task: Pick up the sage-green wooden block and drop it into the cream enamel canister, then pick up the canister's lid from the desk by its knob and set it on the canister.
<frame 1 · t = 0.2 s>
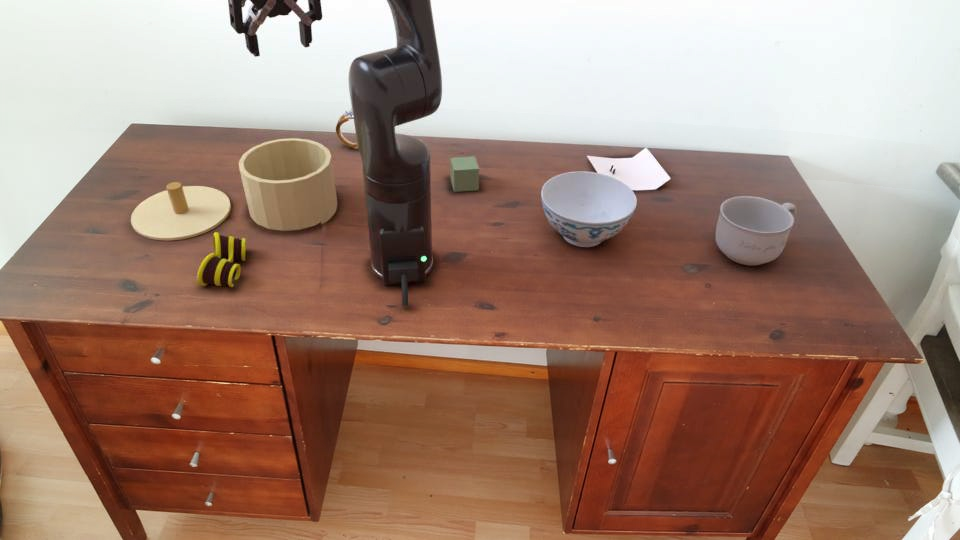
hand: (280, 49, 108), 22 cm above the table, tool pointing down, fingers open, 8 cm apart
teacup: (751, 252, 106), on the table
chinaware: (582, 236, 108), on the table
block: (464, 184, 119), on the table
canister: (294, 208, 112), on the table
ring: (356, 149, 129), on the table
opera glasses: (227, 272, 98), on the table
folded paper: (626, 174, 124), on the table
canister lid: (182, 213, 109), point 1 cm above the table
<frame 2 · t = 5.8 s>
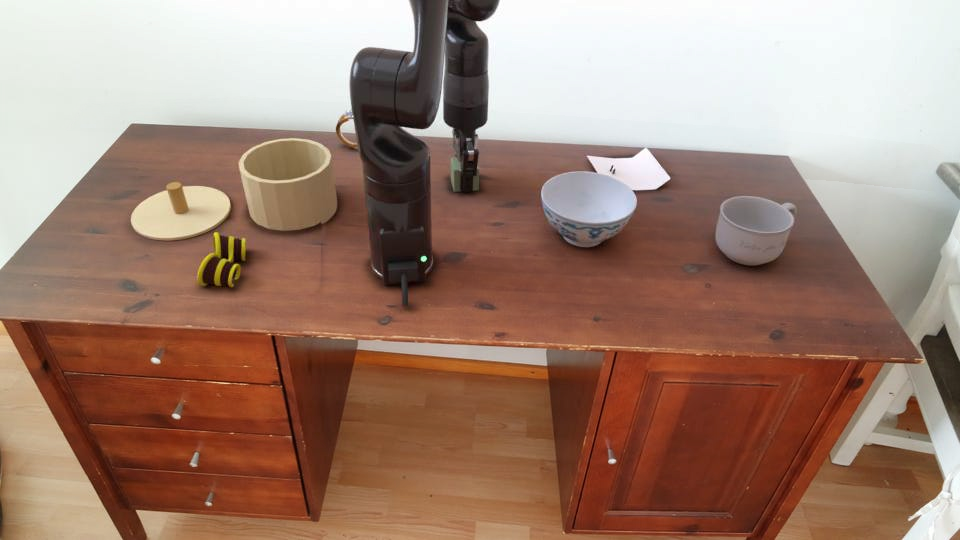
hand: (464, 183, 119), 0 cm above the table, tool pointing down, fingers closed on block, 4 cm apart
block: (464, 184, 119), on the table, touching gripper
everything else where it was.
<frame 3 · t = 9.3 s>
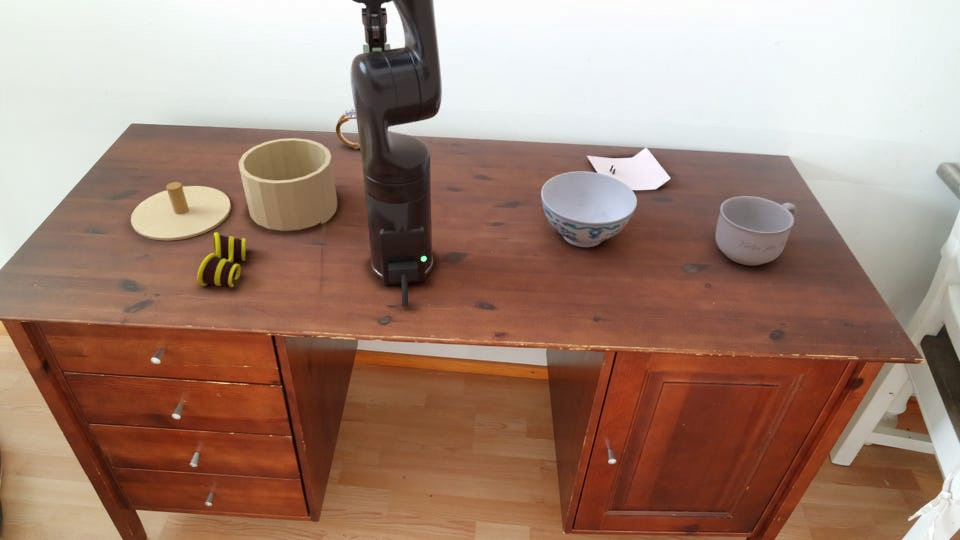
hand: (378, 73, 110), 19 cm above the table, tool pointing down, fingers closed on block, 4 cm apart
block: (378, 75, 111), point 19 cm above the table, touching gripper
everything else where it was.
when the fingers open (7 cm above the table, at t = 13.1 s): block drops 6 cm, resting on canister.
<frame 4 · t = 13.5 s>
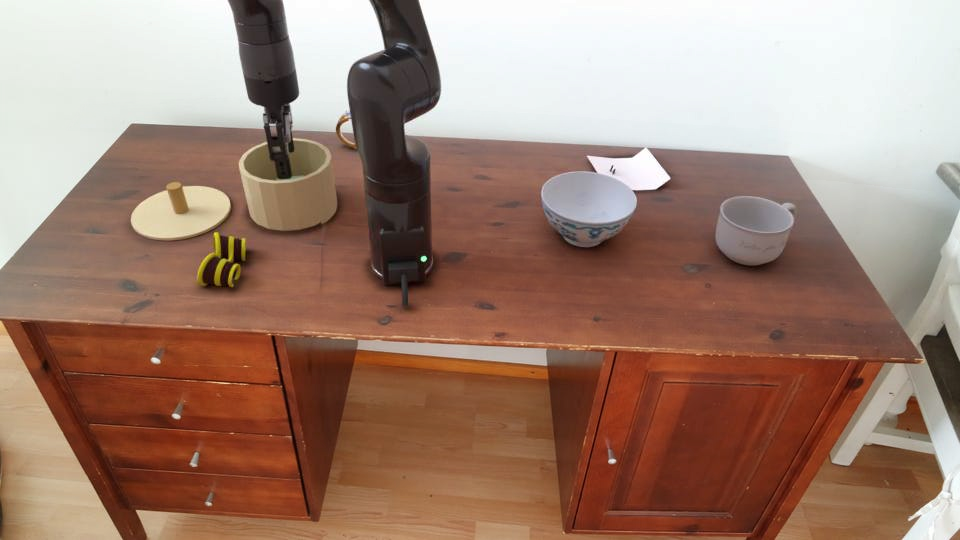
hand: (286, 164, 106), 9 cm above the table, tool pointing down, fingers open, 8 cm apart
block: (293, 205, 112), point 1 cm above the table, touching canister
everything else where it was.
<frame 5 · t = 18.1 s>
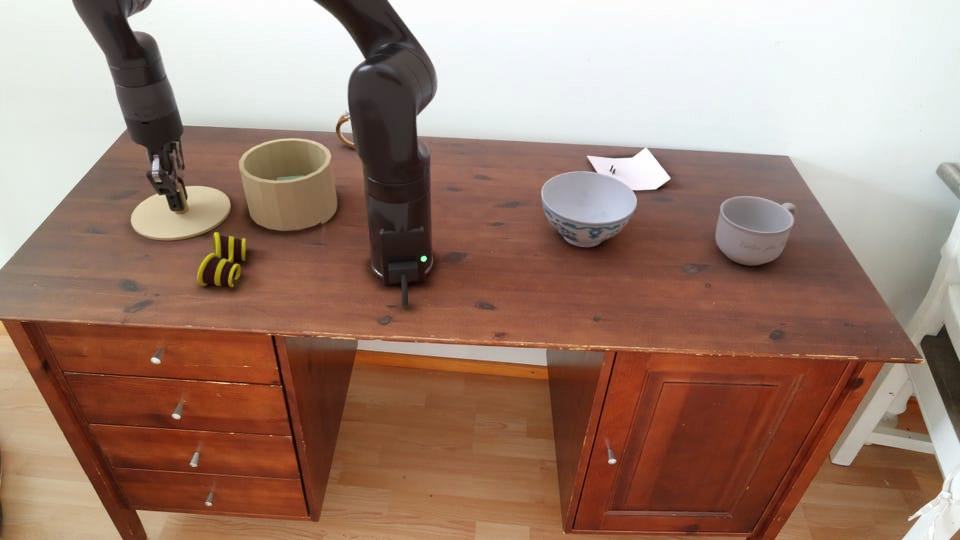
hand: (179, 204, 108), 2 cm above the table, tool pointing down, fingers closed on canister lid, 2 cm apart
canister lid: (182, 213, 109), point 1 cm above the table, touching gripper
everything else where it was.
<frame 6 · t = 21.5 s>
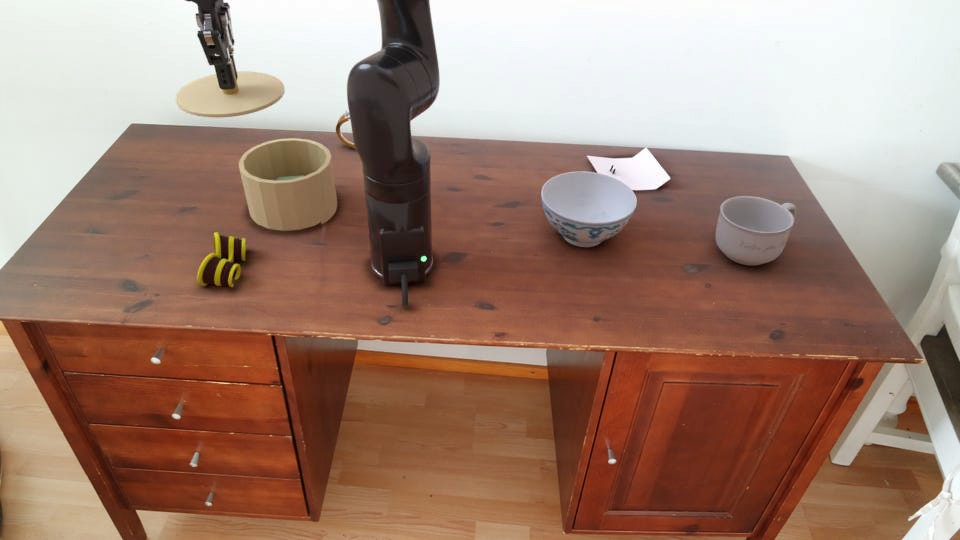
hand: (229, 84, 96), 23 cm above the table, tool pointing down, fingers closed on canister lid, 2 cm apart
canister lid: (231, 94, 98), point 21 cm above the table, touching gripper
everything else where it was.
when the fingers open (11 cm above the table, at t = 25.0 s): canister lid stays where it is, resting on canister.
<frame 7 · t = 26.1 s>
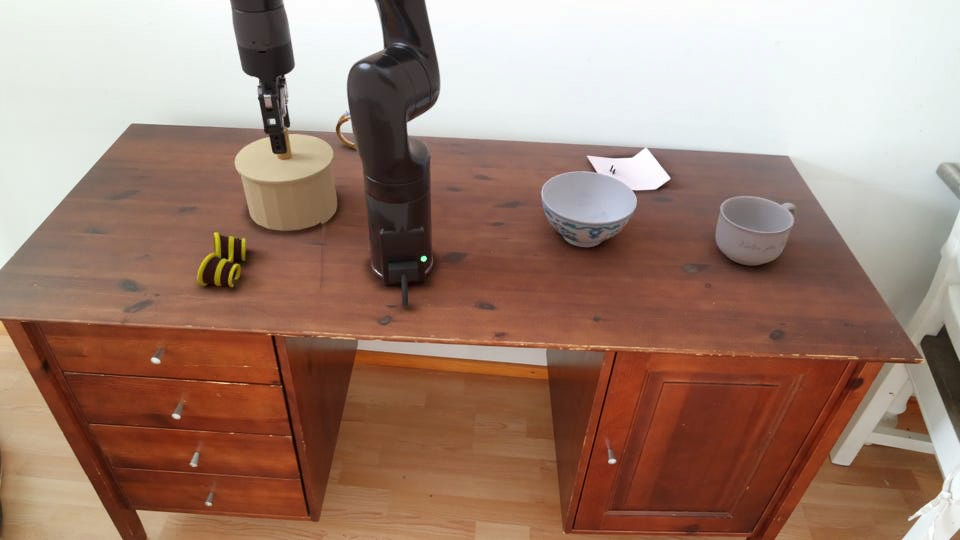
hand: (282, 139, 104), 13 cm above the table, tool pointing down, fingers open, 8 cm apart
canister lid: (285, 159, 106), point 9 cm above the table, touching canister
everything else where it was.
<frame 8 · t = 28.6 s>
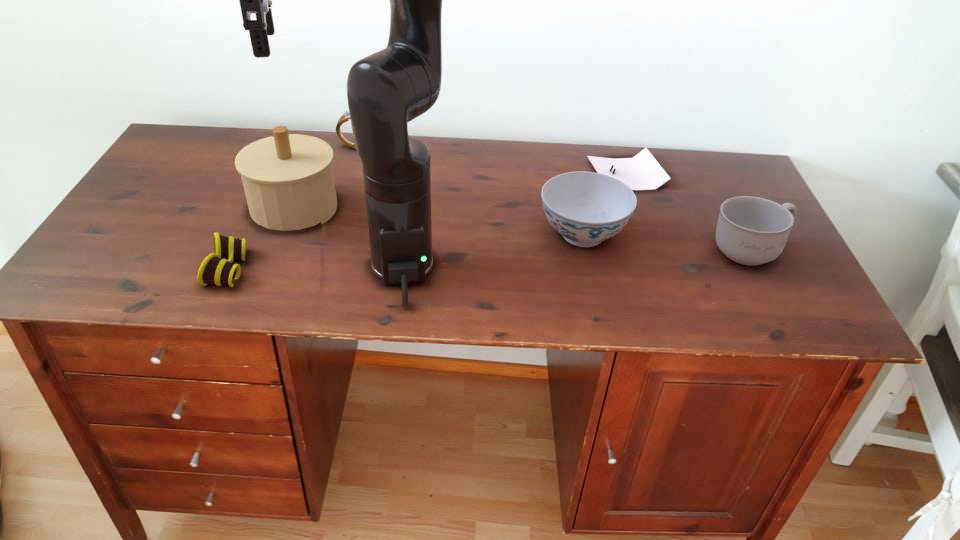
hand: (265, 45, 94), 28 cm above the table, tool pointing down, fingers open, 8 cm apart
nothing on the table moved.
at the end: block inside the target area in the canister (0.1 cm from its centre), point 0.5 cm above the canister's base; canister lid 0.0 cm off-centre on the canister, point 9.5 cm above the canister's base; canister lid tilted 0° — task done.
